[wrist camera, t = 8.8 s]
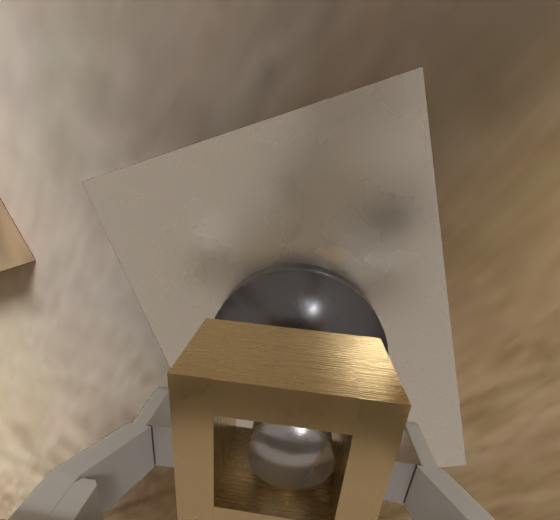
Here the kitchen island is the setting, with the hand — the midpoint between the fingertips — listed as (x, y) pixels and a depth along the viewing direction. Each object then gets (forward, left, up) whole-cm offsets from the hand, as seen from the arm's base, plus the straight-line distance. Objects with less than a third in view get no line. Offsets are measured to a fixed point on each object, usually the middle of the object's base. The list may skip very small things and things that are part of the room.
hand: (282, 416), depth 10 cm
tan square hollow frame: (0, 0, -1) cm, 1 cm away
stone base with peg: (0, 0, -6) cm, 6 cm away
